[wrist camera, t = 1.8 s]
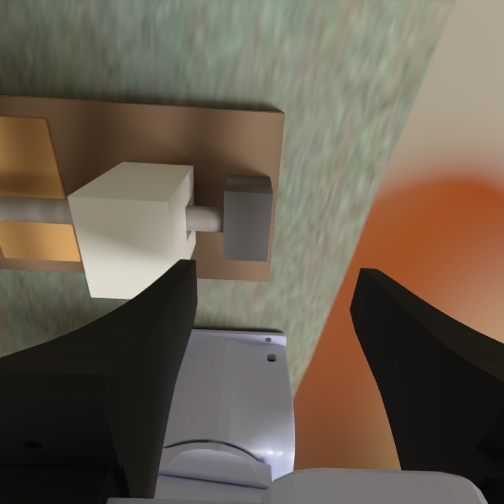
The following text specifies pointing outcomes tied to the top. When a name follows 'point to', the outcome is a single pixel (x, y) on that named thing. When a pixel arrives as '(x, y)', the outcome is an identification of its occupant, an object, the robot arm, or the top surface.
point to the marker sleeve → (133, 226)
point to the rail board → (140, 151)
